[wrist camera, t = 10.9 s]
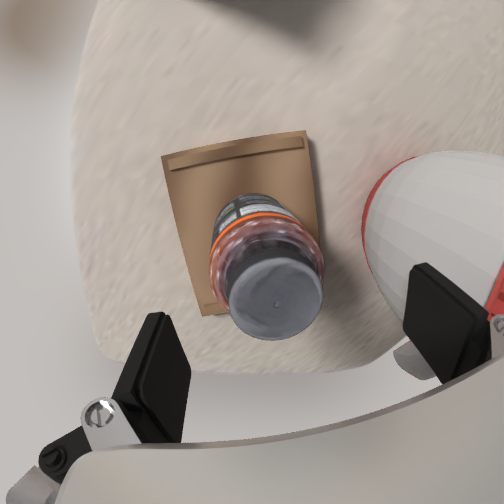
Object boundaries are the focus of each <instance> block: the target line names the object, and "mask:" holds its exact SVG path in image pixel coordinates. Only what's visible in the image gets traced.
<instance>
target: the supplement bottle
mask: <svg viewBox="0 0 504 504" xmlns="http://www.w3.org/2000/svg"><path fill="white" fill-rule="evenodd" d="M208 271H209V282H210V286H211V289H212V292H213V294H214V296H215V298H216V300H217V301H218V303H219V304H220V305H221V306H222V307H223V308H224V310H226V311H227V312H228V313H229V314H230V315H231V317H232V319H233V321H234V322H235V323H236V325H237V326H238V327H239V328H240V329H241V330H242V331H243V332H244V333H246V334H248V335H250V336H252V337H254V338H258V339H261V340H271V341H274V340H283V339H286V338H290V337H292V336H295V335H297V334H298V333H300V332H302V331H303V330H305V329H306V328H307V327H308V326H309V325H310V324H311V323H312V322H313V321H314V320H315V318H316V317H317V315H318V313H319V311H320V308H321V306H322V302H323V289H322V281H323V277H324V260H323V255H322V253H321V250H320V247H319V245H318V243H317V242H316V240H315V239H314V237H313V236H312V234H311V233H310V232H309V231H308V230H307V229H306V228H305V227H304V226H303V225H302V224H301V223H300V222H299V221H298V220H297V219H296V218H295V217H294V216H293V215H292V214H291V213H290V212H289V211H288V210H287V209H286V208H285V207H284V206H283V205H282V204H281V203H279V202H278V201H277V200H275V199H274V198H272V197H270V196H268V195H264V194H260V193H247V194H243V195H239V196H237V197H235V198H233V199H232V200H230V201H229V202H228V203H227V204H226V205H225V206H224V207H223V208H222V209H221V211H220V212H219V214H218V216H217V218H216V221H215V224H214V231H213V237H212V244H211V251H210V257H209V267H208Z"/></svg>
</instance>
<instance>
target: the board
mask: <svg viewBox="0 0 504 504" xmlns="http://www.w3.org/2000/svg"><path fill="white" fill-rule="evenodd" d="M161 159H162V164H163V169H164V174H165V178H166V183H167V187H168V192H169V196H170V201H171V205H172V209H173V213H174V217H175V221H176V225H177V229H178V233H179V237H180V241H181V245H182V249H183V253H184V256H185V260H186V264H187V267H188V271H189V274H190V278H191V281H192V285H193V288H194V292H195V295H196V298H197V302H198V305H199V308H200V311H201V315H202V316H209V315H215V314H221V313H226V312H227V311H226V310H224V308H223V307H222V306H221V305H220V304H219V303H218V301H217V300H216V298H215V296H214V294H213V292H212V289H211V286H210V282H209V271H208V267H209V257H210V251H211V244H212V237H213V231H214V224H215V221H216V218H217V216H218V214H219V212H220V211H221V209H222V208H223V207H224V206H225V205H226V204H227V203H228V202H229V201H230V200H232V199H233V198H235V197H237V196H239V195H243V194H247V193H260V194H264V195H268V196H270V197H272V198H274V199H275V200H277V201H278V202H279V203H281V204H282V205H283V206H284V207H285V208H286V209H287V210H288V211H289V212H290V213H291V214H292V215H293V216H294V217H295V218H296V219H297V220H298V221H299V222H300V223H301V224H302V225H303V226H304V227H305V228H306V229H307V230H308V231H309V232H310V233H311V234H312V236H313V237H314V239H315V240H316V242H317V243H318V245H319V247H320V242H319V231H318V220H317V211H316V202H315V193H314V185H313V177H312V169H311V162H310V155H309V148H308V141H307V135H306V130H305V131H295V132H287V133H279V134H271V135H264V136H258V137H251V138H245V139H239V140H233V141H228V142H223V143H217V144H212V145H208V146H203V147H198V148H194V149H189V150H185V151H181V152H176V153H172V154H168V155H164V156H161ZM322 289H323V284H322Z"/></svg>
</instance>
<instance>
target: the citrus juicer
mask: <svg viewBox="0 0 504 504" xmlns="http://www.w3.org/2000/svg"><path fill="white" fill-rule="evenodd" d="M361 231H362V242H363V247H364V252H365V255H366V259H367V263H368V266H369V268H370V270H371V272H372V274H373V276H374V278H375V280H376V282H377V284H378V286H379V288H380V290H381V292H382V294H383V295H384V297H385V299H386V301H387V303H388V304H389V305H390V306H391V308H392V309H393V310H394V312H395V313H396V314H397V316H398V317H399V318H400V319H401V321H402V322H403V319H404V313H405V306H406V298H407V290H408V280H409V272H410V270H411V269H412V267H413V266H414V265H416V264H420V263H424V262H427V263H429V264H430V265H431V266H433V267H434V268H435V269H437V270H438V271H439V272H440V273H442V274H443V275H444V276H446V277H447V278H448V279H449V280H451V281H452V282H453V283H455V284H456V285H457V286H458V287H460V288H461V289H462V290H463V291H464V292H466V293H467V294H468V295H469V296H470V297H472V298H473V299H474V300H475V301H476V302H478V303H479V304H480V305H481V306H482V307H483V308H485V309H486V310H487V311H488V312H489V315H488V318H487V320H488V321H489V322H490V320H491V319H492V317H494V316H495V315H499V314H504V156H500V155H494V154H489V153H482V152H476V151H464V150H449V151H439V152H433V153H427V154H424V155H421V156H419V157H412V158H410V159H407V160H405V161H403V162H401V163H399V164H398V165H396V166H395V167H393V168H392V169H391V170H389V171H388V172H387V173H385V174H384V175H383V176H382V177H381V178H380V179H379V181H378V182H377V183H376V184H375V186H374V188H373V189H372V191H371V192H370V194H369V197H368V199H367V202H366V204H365V208H364V212H363V216H362V227H361ZM393 353H394V357H395V360H396V362H397V363H398V365H399V366H400V367H401V368H402V369H403V370H405V371H406V372H408V373H409V374H411V375H413V376H414V377H416V378H418V379H420V380H426V379H430V378H433V377H435V376H436V374H435V373H434V371H433V370H432V369H431V367H430V366H429V364H428V363H427V362H426V360H425V359H424V358H423V356H422V355H421V353H420V352H419V351H418V349H417V348H416V347H415V345H414V344H413V343H412V341H411V340H410V341H409V342H407V343H406V344H404V345H402V346H401V347H399V348H398V349H396V350H394V352H393Z"/></svg>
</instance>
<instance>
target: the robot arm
mask: <svg viewBox="0 0 504 504" xmlns="http://www.w3.org/2000/svg"><path fill="white" fill-rule="evenodd" d="M488 315H489V312H488V311H487V310H486V309H485V308H483V307H482V306H481V305H480V304H479V303H478V302H476V301H475V300H474V299H473V298H472V297H470V296H469V295H468V294H467V293H466V292H464V291H463V290H462V289H461V288H460V287H458V286H457V285H456V284H455V283H453V282H452V281H451V280H449V279H448V278H447V277H446V276H444V275H443V274H442V273H440V272H439V271H438V270H437V269H435V268H434V267H433V266H431V265H430V264H429V263H427V262H424V263H420V264H416V265H414V266H413V267H412V269H411V270H410V272H409V280H408V290H407V298H406V306H405V313H404V319H403V330H404V332H405V333H406V335H407V336H408V337H409V339H410V340H411V341H412V343H413V344H414V345H415V347H416V348H417V349H418V351H419V352H420V353H421V355H422V356H423V358H424V359H425V360H426V362H427V363H428V364H429V366H430V367H431V369H432V370H433V371H434V373H435V374H436V376H437V377H438V379H439V380H440V382H441V383H442V384H443V385H441V386H439V387H436V388H434V389H432V390H430V391H428V392H425V393H423V394H420V395H419V396H416V397H413V398H411V399H408V400H406V401H403V402H400V403H398V404H395V405H392V406H390V407H387V408H384V409H381V410H378V411H375V412H372V413H369V414H366V415H363V416H359V417H356V418H352V419H349V420H345V421H341V422H338V423H334V424H330V425H326V426H321V427H317V428H312V429H307V430H303V431H298V432H292V433H287V434H281V435H274V436H268V437H260V438H252V439H243V440H231V441H218V442H201V443H181V439H182V431H183V424H184V417H185V411H186V404H187V398H188V391H189V385H190V379H191V368H190V365H189V362H188V360H187V358H186V355H185V353H184V350H183V348H182V346H181V343H180V341H179V338H178V336H177V333H176V330H175V328H174V325H173V323H172V320H171V318H170V316H169V315H165V313H164V312H156V313H149V314H148V315H147V317H146V319H145V321H144V323H143V326H142V328H141V330H140V332H139V334H138V336H137V339H136V341H135V343H134V345H133V348H132V350H131V352H130V354H129V357H128V359H127V361H126V364H125V366H124V368H123V371H122V373H121V376H120V378H119V380H118V383H117V385H116V387H115V390H114V392H113V395H112V397H111V398H105V397H104V398H98V399H95V400H93V401H91V402H90V403H89V404H88V405H87V406H86V407H85V408H84V409H83V411H82V414H81V423H82V426H80V427H78V428H77V429H75V430H73V431H72V432H70V433H68V434H66V435H64V436H63V437H61V438H59V439H57V440H56V441H54V442H52V443H50V444H49V445H47V446H46V447H44V449H43V450H42V451H41V453H40V455H39V467H38V468H37V467H36V466H34V467H32V468H31V469H30V470H29V471H28V472H27V473H26V474H25V475H24V476H23V477H22V478H21V479H20V480H19V481H18V482H17V483H16V484H15V485H14V486H13V487H12V488H11V489H10V490H9V491H8V493H7V496H6V504H504V314H499V315H495V316H494V317H492V319H491V320H490V322H489V321H488V320H487V318H488Z"/></svg>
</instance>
